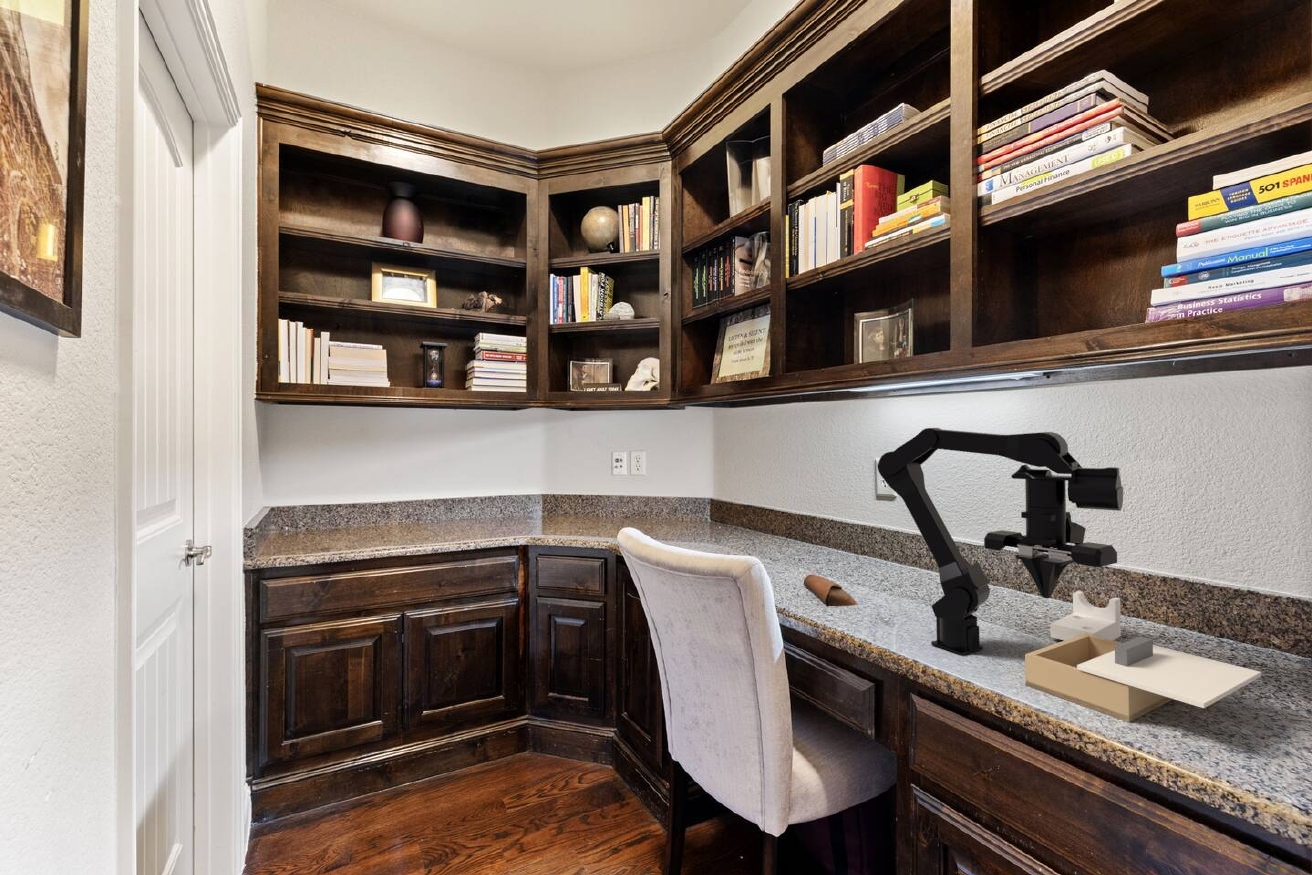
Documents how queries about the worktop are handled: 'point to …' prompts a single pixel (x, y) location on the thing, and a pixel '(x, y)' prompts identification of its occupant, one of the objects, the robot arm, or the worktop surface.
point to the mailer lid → (1170, 672)
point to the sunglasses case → (828, 591)
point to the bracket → (1089, 620)
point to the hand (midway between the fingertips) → (1046, 597)
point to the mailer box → (1086, 679)
